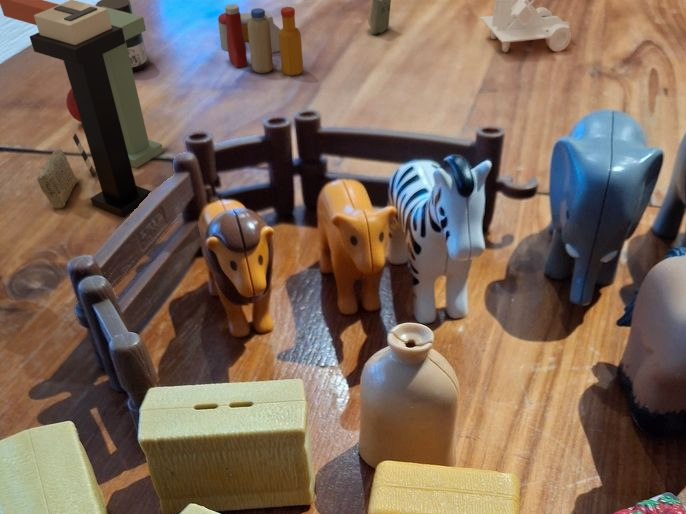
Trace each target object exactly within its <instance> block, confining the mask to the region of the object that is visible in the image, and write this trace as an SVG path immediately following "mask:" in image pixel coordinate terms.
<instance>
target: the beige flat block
mask: <svg viewBox="0 0 686 514" xmlns="http://www.w3.org/2000/svg"><path fill="white" fill-rule="evenodd" d="M0 8H1V11H2V14H3V16H4V17H6V18H10V19H14V20H16V21H19V22H24V23H27V24H29V25H34V26H36V27H37V30H38V32H39V34H40V35H41V36H45V37H48V38H52V39H55V40H59V41H62V42H65V43H69V44H72V45H77V44H79V43H81V42H84V41H86V40H88V39H90V38H92V37H94V36H97V35H99V34H101V33H103V32H105V31H107V30H110V29H112V27H111V23H110V19H109V14H108V10H107V9H106V8H102V7H98V6H96V5H94V4H90V3H86V2H82V1H78V0H67V1H65V2H63V3H60V4H59V3H56V2H52V1H47V0H0Z"/></svg>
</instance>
